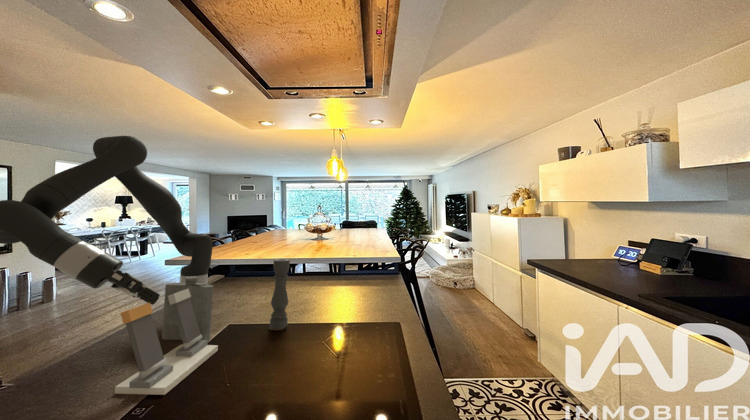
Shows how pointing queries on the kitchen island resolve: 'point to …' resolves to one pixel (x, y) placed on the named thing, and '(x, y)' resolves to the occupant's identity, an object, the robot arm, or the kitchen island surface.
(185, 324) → the grey lever
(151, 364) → the orange lever
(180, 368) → the switch panel
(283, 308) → the candle holder
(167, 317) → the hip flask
